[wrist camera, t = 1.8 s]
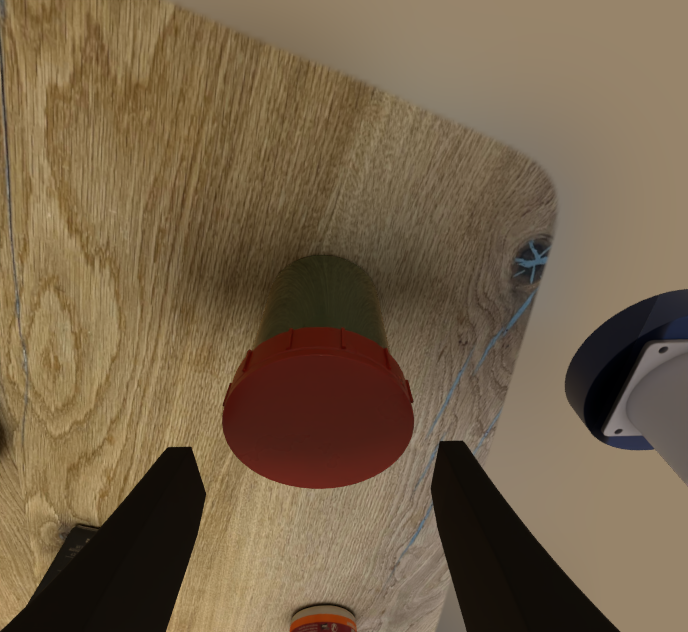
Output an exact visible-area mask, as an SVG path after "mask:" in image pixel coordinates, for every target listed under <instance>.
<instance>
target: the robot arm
mask: <svg viewBox="0 0 688 632" xmlns="http://www.w3.org/2000/svg"><path fill="white" fill-rule="evenodd" d="M601 431H602V433H603V434H604V435H605V436H640V435H643V436H644V437H645V439H646V440H647V441H648V442H649V443H650V444H651V445H652V446H653V448H654V449H655V450H656V451H657V452H658V453H659V454H660V455H661V457H662V458H663V459H664V460H665V461H666V462H667V463H668V465H669V466H670V467H671V468H672V469H673V470H674V471H675V472H676V473H677V475H678V476H679V477H680V478H681V479H682V480H683V481H684V483H685V484H686V485H687V486H688V339H676V340H651V341H648V342H647V343H645V344H644V346H643V347H642V349H641V351H640V353H639V355H638V357H637V359H636V361H635V363H634V365H633V367H632V369H631V371H630V373H629V375H628V377H627V379H626V380H625V382H624V384H623V386H622V388H621V390H620V392H619V394H618V396H617V398H616V400H615V402H614V404H613V406H612V408H611V410H610V412H609V414H608V416H607V418H606V420H605V421H604V423H603V425H602V427H601ZM431 494H432V499H433V505H434V511H435V517H436V522H437V527H438V531H439V535H440V539H441V542H442V546H443V549H444V553H445V556H446V560H447V563H448V567H449V570H450V574H451V577H452V581H453V584H454V588H455V591H456V595H457V598H458V602H459V605H460V609H461V612H462V616H463V619H464V623H465V627H466V631H467V632H620V631H619V630H618V629H617V628H616V627H615V626H614V625H613V624H612V623H611V622H610V621H609V620H608V619H607V618H606V617H605V616H604V615H603V613H601V611H600V610H599V609H598V608H597V607H596V606H595V605H594V604H593V603H592V602H591V601H590V600H589V599H588V598H587V596H585V594H584V593H583V592H582V591H581V590H580V589H579V588H578V587H577V586H576V585H575V584H574V582H573V581H572V580H571V579H570V578H569V577H568V576H567V575H566V573H565V572H564V571H563V570H562V569H561V568H560V567H559V565H557V563H556V562H555V561H554V560H553V558H552V557H551V556H550V555H549V554H548V553H547V551H546V550H545V549H544V548H543V547H542V546H541V544H540V543H539V542H538V541H537V540H536V538H535V537H534V536H533V535H532V534H531V532H530V531H529V530H528V528H527V527H526V526H525V525H524V523H523V522H522V521H521V519H520V518H519V517H518V516H517V514H516V513H515V512H514V511H513V509H512V508H511V507H510V505H509V504H508V503H507V502H506V500H505V499H504V498H503V496H502V495H501V494H500V492H499V491H498V490H497V488H496V487H495V485H494V484H493V482H492V481H491V480H490V478H489V477H488V476H487V474H486V473H485V471H484V470H483V468H482V467H481V466H480V464H479V463H478V461H477V460H476V458H475V457H474V455H473V454H472V452H471V451H470V449H469V448H468V446H467V445H466V444H465V443H464V442H463V441H440V443H439V448H438V453H437V458H436V463H435V468H434V473H433V479H432V484H431ZM205 497H206V492H205V489H204V485H203V482H202V479H201V476H200V473H199V470H198V466H197V463H196V460H195V457H194V454H193V451H192V447H168V448H167V449H166V450H165V451H164V452H163V453H162V454H161V456H160V457H159V458H158V459H157V461H156V462H155V463H154V464H153V465H152V467H151V468H150V469H149V470H148V472H147V473H146V474H145V475H144V477H143V478H142V479H141V480H140V481H139V483H138V484H137V485H136V486H135V488H134V489H133V490H132V491H131V492H130V494H129V495H128V496H127V497H126V498H125V500H124V501H123V502H122V503H121V504H120V505H119V507H118V508H117V509H116V510H115V511H114V512H113V514H112V515H111V516H110V517H109V518H108V519H107V521H106V522H105V523H104V524H103V525H102V526H101V527H100V529H99V530H98V531H97V532H96V533H95V534H94V535H93V537H92V538H91V539H90V540H89V541H88V542H87V543H86V544H85V545H84V546H83V547H82V549H81V550H80V551H79V552H78V553H77V554H76V555H75V556H74V557H73V558H72V559H71V560H70V562H69V563H68V564H67V565H66V566H65V567H64V568H63V569H62V570H61V571H60V572H59V573H58V574H57V576H56V577H55V578H54V579H53V580H52V581H51V582H50V583H49V584H48V585H47V586H46V587H45V588H44V589H43V590H42V591H41V592H40V593H39V594H38V595H37V596H36V597H35V598H34V599H33V600H32V601H31V602H30V603H29V604H28V605H27V606H26V607H25V608H24V609H23V610H22V611H21V612H20V613H19V614H18V615H17V616H16V617H15V618H14V619H13V620H12V621H11V622H10V623H9V624H8V625H6V626H5V627H4V628H3V629H2V630H1V631H0V632H166V629H167V626H168V623H169V620H170V617H171V614H172V611H173V608H174V605H175V602H176V599H177V596H178V593H179V590H180V587H181V584H182V581H183V578H184V575H185V572H186V569H187V566H188V563H189V560H190V557H191V554H192V550H193V547H194V544H195V541H196V538H197V535H198V530H199V526H200V521H201V517H202V512H203V507H204V502H205Z"/></svg>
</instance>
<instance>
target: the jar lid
mask: <svg viewBox="0 0 688 632" xmlns="http://www.w3.org/2000/svg"><path fill="white" fill-rule="evenodd" d="M411 403H413V398H412V394H411V390H410V386H409V382H408V380H405V378H404V375H403V372H402V370H401V369H400V367H399V365H398V364H397V362H396V361H395V360H394V358H393V357H392V356H391V355H390V354H389V352H388V349H387V348H386V347H385V348H384V349H383V348H382V347H381V346H380V345H378V344H377V343H376V342H374V341H372V340H370V339H368V338H366V337H364V336H361V335H359V334H357V333H354V332H351V331H347V330H345V328H343V327H341V329H337V328H332V327H305V328H300V329H296V330H293V328H290V329H289V331H288V332H283V333H281V334H278V335H276V336H274V337H272V338H270V339H268V340H266V341H264V342H263V343H261V344H259V345H258V346H257V347H256V348H255V349H254V350H252V351H251V350H250V349H249V350H248V351H247V355H246V357H245V358H244V360H243V361H242V363H241V364H240V366H239V367H238V369H237V371H236V374H235V376H234V379H233V382H232V383H230V385H229V388H228V390H227V393H226V396H225V399H224V402H223V406H224V410H223V415H222V426H223V432H224V435H225V438H226V441H227V443H228V445H229V447H230V449H231V450H232V451H233V453H234V454H235V455H236V457H237V458H238V459H239V460H240V461H241V462H242V463H243V464H245V465H246V466H247V467H249V468H250V469H251V470H253V471H254V472H256V473H258V474H259V475H261V476H263V477H266V478H268V479H270V480H273V481H275V482H278V483H282V484H285V485H289V486H294V487H300V488H310V489H325V488H336V487H343V486H348V485H352V484H356V483H359V482H362V481H365V480H367V479H369V478H372V477H374V476H376V475H377V474H379V473H381V472H383V471H384V470H386V469H387V468H388V467H390V466H391V465H392V464H393V463H394V462H395V461H397V460H398V458H399V457H400V456H401V455H402V454H403V453H404V451H405V449H406V448H407V446H408V444H409V442H410V440H411V437H412V433H413V429H414V415H413V409H412V405H411Z"/></svg>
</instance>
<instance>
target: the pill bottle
mask: <svg viewBox="0 0 688 632" xmlns="http://www.w3.org/2000/svg"><path fill="white" fill-rule="evenodd" d="M290 632H357V630H356V620H355V618H354V616H353V615H352V614H351V613H350V612H349V611H347V610H346V609H343V608H341V607H337V606H331V605H321V606H314V607H310V608H306V609H303V610H301V611H299V612H298V613H296V614H295V615H294V617H293V618H292V621H291V625H290Z"/></svg>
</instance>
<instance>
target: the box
mask: <svg viewBox="0 0 688 632" xmlns="http://www.w3.org/2000/svg"><path fill="white" fill-rule="evenodd" d="M98 530H99V529H95V528H90V527H84V526H81V525H78V526H76V527H74V528H73V529H72V530H71V532H70V533H69V535H68V537H67V538H66V540H65V542H64V544H63V545H62V547H61V549H60V550H59V552H58V554H57V555H56V557H55V559H54V561H53V562H52V564H51V566H50V567H49V569H48V571H47V572H46V574H45V576H44V577H43V579H42V581H41V583H40V584H39V586H38V587H37V589H36V591H35V592H34V594H33V596H32V597H31V599H30V601H29V602H28V604H29V603H30V602H31V601H32V600H33V599H34V598H35V597H36V596H37V595H38V594H39V593H40V592H41V591H42V590H43V589H44V588H45V587H46V586H47V585H48V584H49V583H50V582H51V581H52V580H53V579H54V578H55V577H56V576H57V574H58V573H59V572H60V571H61V570H62V569H63V568H64V567H65V566H66V565H67V564H68V563H69V562H70V560H71V559H72V558H73V557H74V556H75V555H76V554H77V553H78V552H79V551H80V550H81V549H82V547H83V546H84V545H85V544H86V543H87V542H88V541H89V540H90V539H91V538H92V537H93V535H94V534H95V533H96V532H97V531H98ZM28 604H27V605H28Z"/></svg>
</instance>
